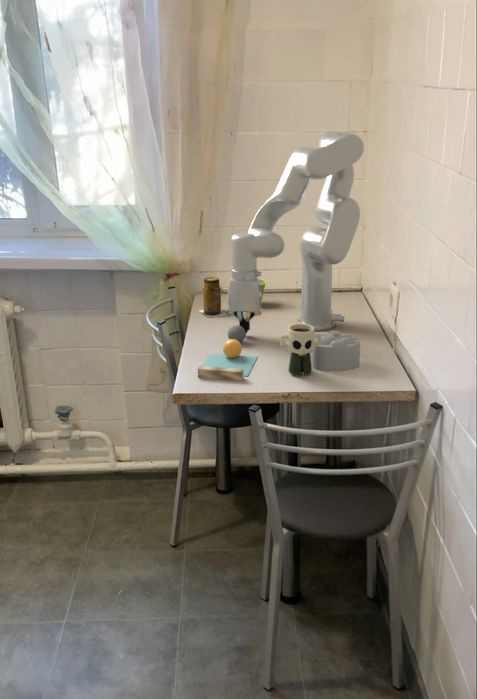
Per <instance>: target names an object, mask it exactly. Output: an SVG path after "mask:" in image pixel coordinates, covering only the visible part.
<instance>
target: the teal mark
mask: <svg viewBox="0 0 477 699" xmlns="http://www.w3.org/2000/svg"><path fill="white" fill-rule="evenodd" d="M257 359H258V356H256V355H243V354H242V355H241V354H240V355H239V356H238V357H236V358H228V357H227V356H226V355H225V354H224V353H213V352H212V353H211V352H210V353H209V354H208V356H207V357H206V359H205V360H204V362H203V363H202V365H201V366H207V367H221V368H234V369H243V377H249V375H250V372H251V370H252V369H253V367H254V365H255V363H256V360H257ZM196 372H197V374H198V371H196Z"/></svg>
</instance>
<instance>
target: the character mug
mask: <svg viewBox="0 0 477 699" xmlns="http://www.w3.org/2000/svg"><path fill="white" fill-rule="evenodd" d="M321 334H322V333H317V332H316V333H315V331H314V327H313V326H311V325H308V324H296V323H294V324H293V323H292V324H291V325H288V327H287V334H280V346H281V347H287V349H288V351H289V352H290V353H291V354H290V359H289V365H288V371H289V373H290V374H292V375H293V376H301V374H302V373H303V376H308V375H310V374H311V373H312V372H313V371H312V370H313V365H312V356H311V354H310V353H311V352H312V351H313V349H314V345H320V344H321ZM314 337H318V341H317V342H314ZM285 339H287V342H285Z"/></svg>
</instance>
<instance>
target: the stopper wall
mask: <svg viewBox="0 0 477 699" xmlns="http://www.w3.org/2000/svg"><path fill="white" fill-rule="evenodd" d="M197 372H198V373H197V377H198V378H202V379H215V380H225V381H226V380H227V381H240V382H241V381H243V379H244V376H243V369H234V368H221V367H207V366H202V365H199V367H197Z"/></svg>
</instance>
